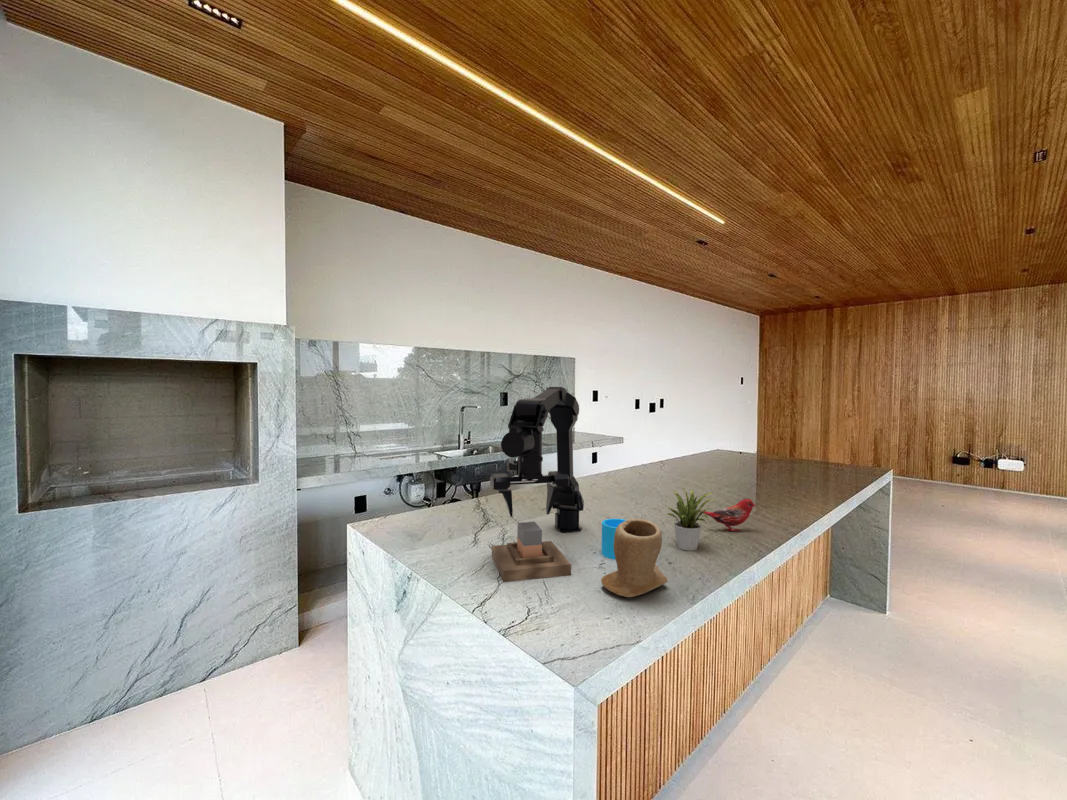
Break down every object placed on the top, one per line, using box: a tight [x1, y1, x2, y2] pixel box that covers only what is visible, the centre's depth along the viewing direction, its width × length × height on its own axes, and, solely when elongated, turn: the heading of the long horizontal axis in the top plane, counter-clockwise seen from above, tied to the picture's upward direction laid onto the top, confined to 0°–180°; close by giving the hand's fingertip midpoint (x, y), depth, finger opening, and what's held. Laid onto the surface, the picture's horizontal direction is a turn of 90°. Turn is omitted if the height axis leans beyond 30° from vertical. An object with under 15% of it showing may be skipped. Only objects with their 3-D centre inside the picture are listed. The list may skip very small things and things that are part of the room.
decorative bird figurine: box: [699, 498, 756, 532], centre depth 140 cm, size 3×18×10 cm, turn 89°
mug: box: [601, 518, 627, 561], centre depth 122 cm, size 12×8×8 cm
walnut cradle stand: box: [491, 540, 572, 583], centre depth 113 cm, size 16×16×4 cm
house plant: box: [664, 487, 716, 552], centre depth 125 cm, size 14×14×16 cm
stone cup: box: [600, 518, 669, 598], centre depth 101 cm, size 15×12×15 cm
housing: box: [516, 521, 543, 558], centre depth 113 cm, size 7×4×7 cm, turn 15°
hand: (529, 515), depth 113 cm, fingers open, 9 cm apart
